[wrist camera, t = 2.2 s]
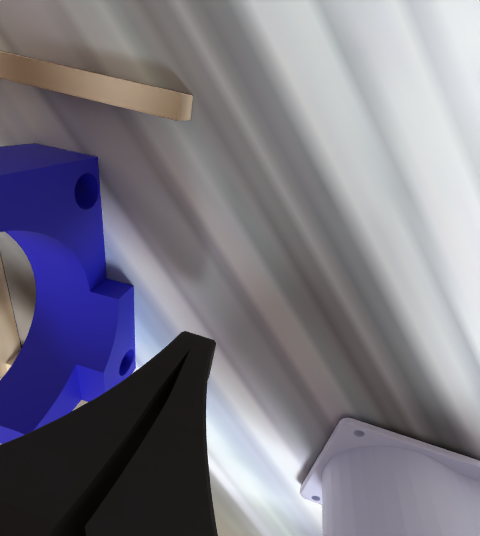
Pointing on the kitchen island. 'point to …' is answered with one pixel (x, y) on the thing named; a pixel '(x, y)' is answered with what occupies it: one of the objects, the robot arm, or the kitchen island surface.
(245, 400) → the kitchen island surface
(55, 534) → the robot arm
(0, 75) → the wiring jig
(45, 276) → the blue pipe clamp half
